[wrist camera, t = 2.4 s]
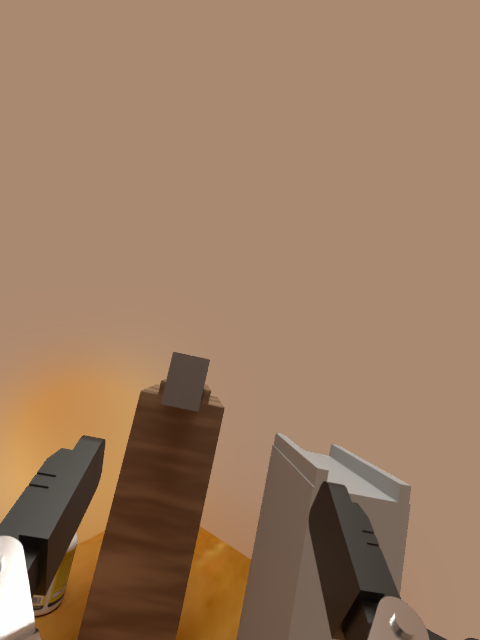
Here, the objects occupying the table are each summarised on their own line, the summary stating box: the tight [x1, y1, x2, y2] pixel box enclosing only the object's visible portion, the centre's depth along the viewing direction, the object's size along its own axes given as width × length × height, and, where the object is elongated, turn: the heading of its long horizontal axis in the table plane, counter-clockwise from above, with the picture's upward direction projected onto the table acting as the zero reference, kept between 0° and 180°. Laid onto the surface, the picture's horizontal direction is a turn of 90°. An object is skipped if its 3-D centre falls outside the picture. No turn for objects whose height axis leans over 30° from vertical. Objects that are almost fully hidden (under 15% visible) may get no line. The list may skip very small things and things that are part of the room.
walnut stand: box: [78, 379, 224, 640], centre depth 44 cm, size 14×10×34 cm
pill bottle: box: [31, 533, 78, 616], centre depth 47 cm, size 6×6×11 cm
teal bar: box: [161, 352, 210, 412], centre depth 43 cm, size 24×4×5 cm, turn 7°
